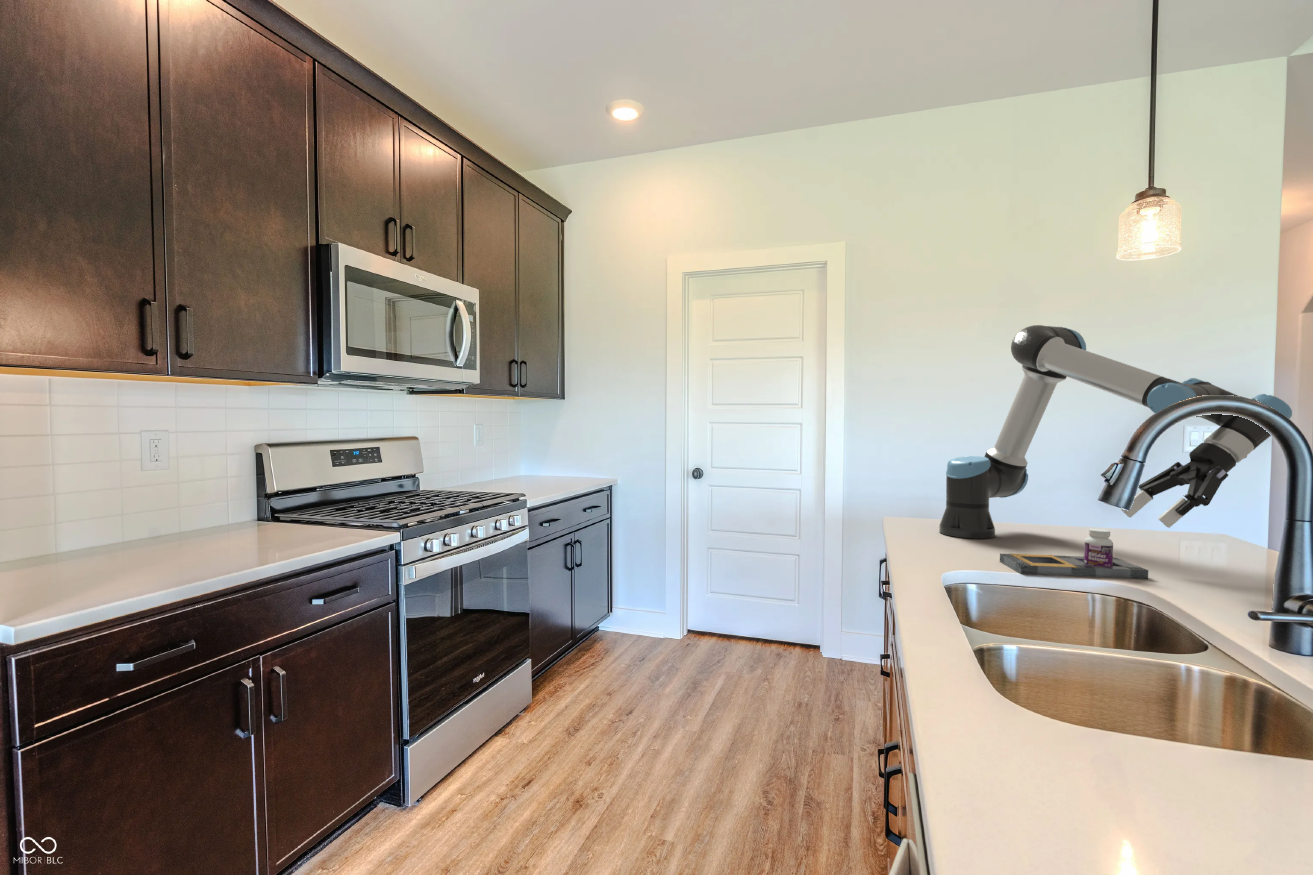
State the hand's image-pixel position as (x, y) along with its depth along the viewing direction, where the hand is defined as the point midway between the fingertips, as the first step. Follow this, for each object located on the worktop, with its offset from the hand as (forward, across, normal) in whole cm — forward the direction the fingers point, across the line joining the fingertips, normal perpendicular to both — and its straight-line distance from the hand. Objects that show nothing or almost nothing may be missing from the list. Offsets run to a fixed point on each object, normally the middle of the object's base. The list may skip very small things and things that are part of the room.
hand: (1143, 518), depth 139 cm
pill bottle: (+15, +1, -3) cm, 16 cm away
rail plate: (+19, +1, +2) cm, 19 cm away
